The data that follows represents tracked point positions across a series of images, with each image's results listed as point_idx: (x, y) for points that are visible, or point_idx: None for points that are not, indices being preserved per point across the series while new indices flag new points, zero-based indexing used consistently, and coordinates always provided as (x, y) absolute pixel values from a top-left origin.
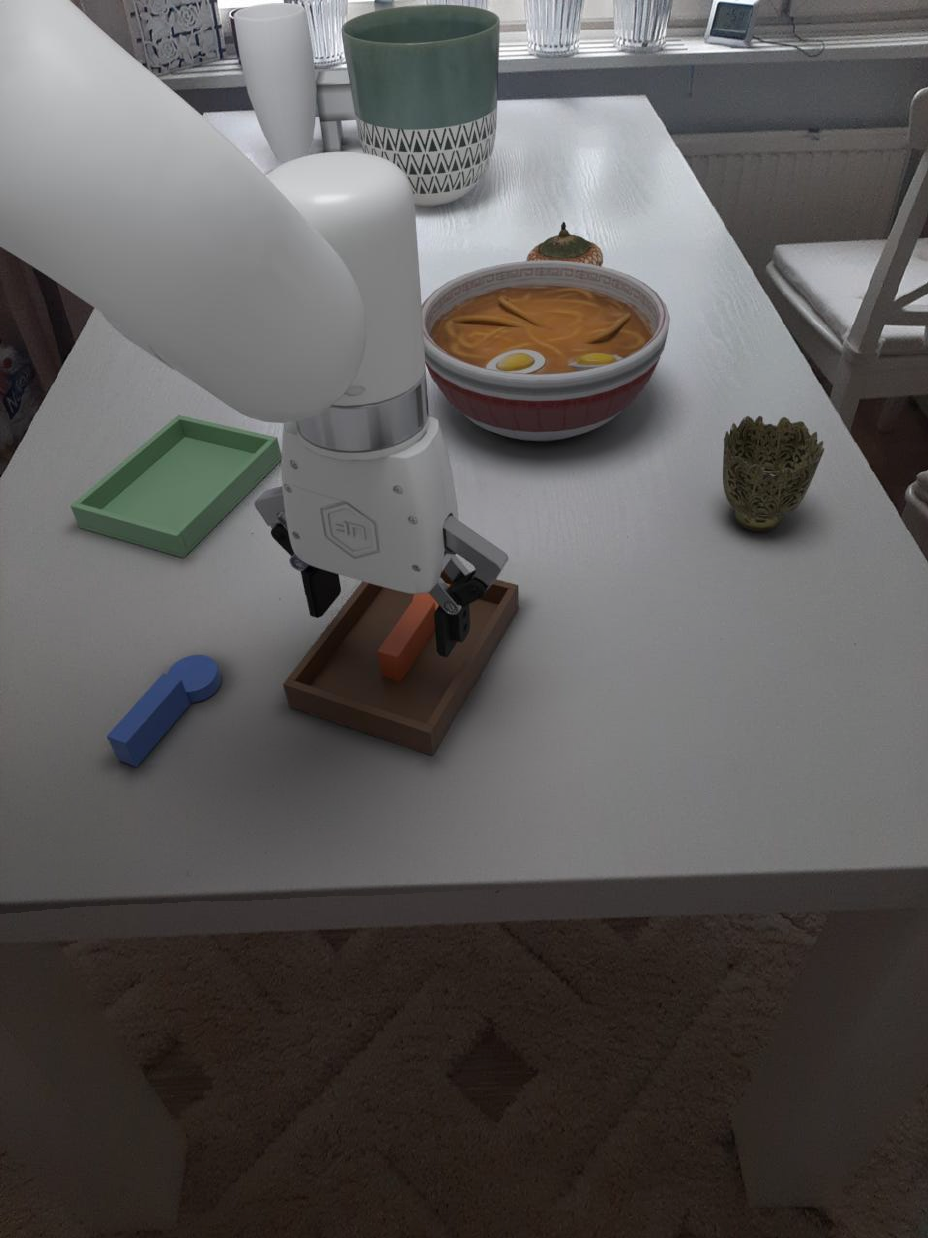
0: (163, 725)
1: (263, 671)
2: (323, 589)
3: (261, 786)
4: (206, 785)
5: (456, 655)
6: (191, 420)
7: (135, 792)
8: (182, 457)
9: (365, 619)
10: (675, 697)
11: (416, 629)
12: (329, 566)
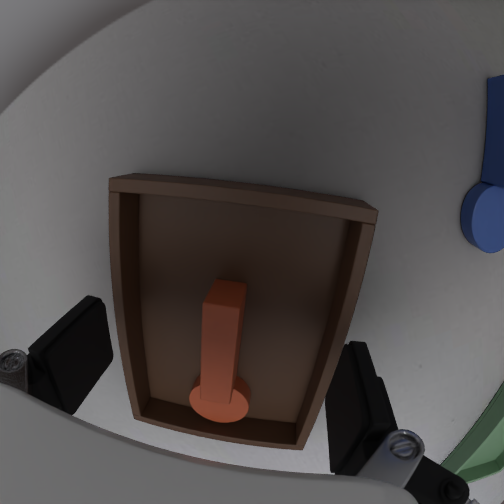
0: (494, 131)
1: (417, 255)
2: (344, 398)
3: (339, 61)
4: (407, 55)
5: (167, 332)
6: (492, 473)
7: (470, 46)
8: (499, 447)
9: (306, 366)
10: (7, 306)
11: (201, 356)
12: (262, 497)
